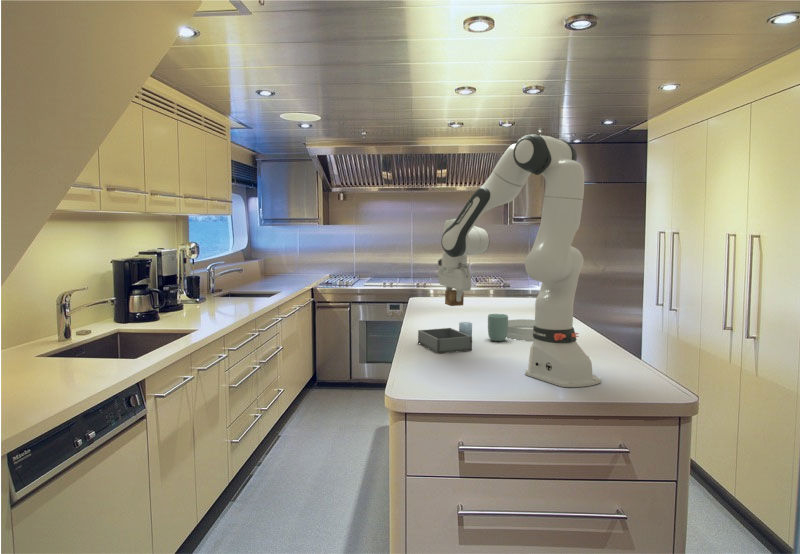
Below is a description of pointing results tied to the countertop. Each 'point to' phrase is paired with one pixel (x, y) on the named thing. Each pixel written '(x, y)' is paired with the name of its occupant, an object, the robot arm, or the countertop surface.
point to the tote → (444, 340)
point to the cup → (497, 327)
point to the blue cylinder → (465, 328)
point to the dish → (521, 329)
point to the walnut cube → (453, 298)
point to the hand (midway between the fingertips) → (454, 300)
